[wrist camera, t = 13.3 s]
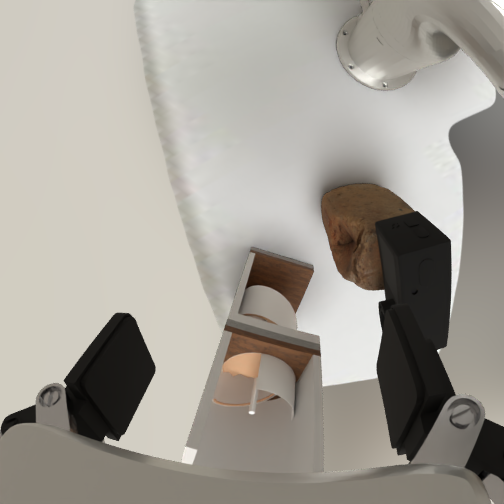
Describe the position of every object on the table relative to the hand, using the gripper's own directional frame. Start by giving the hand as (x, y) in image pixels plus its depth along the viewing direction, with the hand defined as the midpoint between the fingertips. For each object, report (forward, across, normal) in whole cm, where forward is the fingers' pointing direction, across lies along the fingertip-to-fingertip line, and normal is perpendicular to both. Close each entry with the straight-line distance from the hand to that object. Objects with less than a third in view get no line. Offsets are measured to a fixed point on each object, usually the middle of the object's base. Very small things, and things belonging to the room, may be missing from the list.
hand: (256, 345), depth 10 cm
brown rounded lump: (+37, -10, +6) cm, 38 cm away
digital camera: (+17, -11, +6) cm, 21 cm away
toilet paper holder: (+36, +4, +19) cm, 41 cm away
